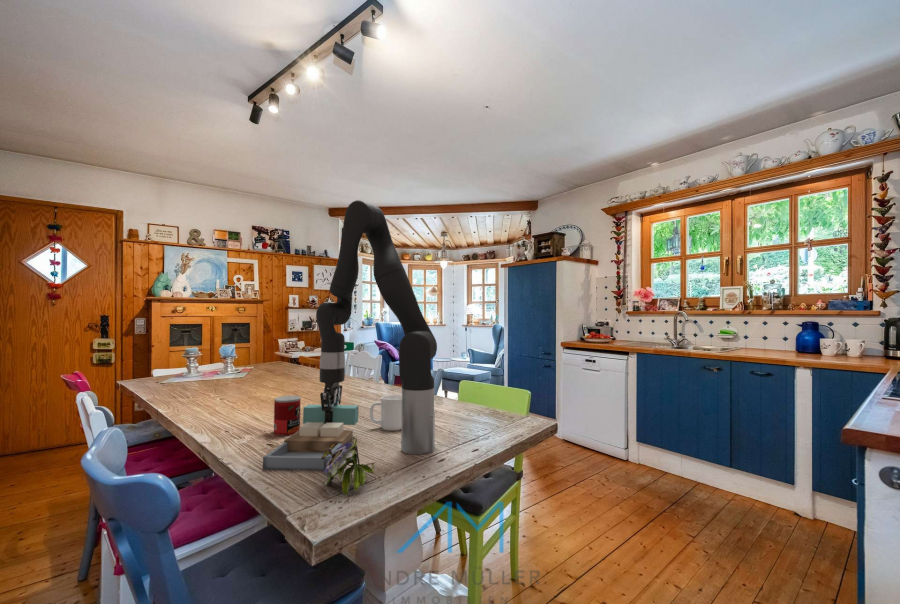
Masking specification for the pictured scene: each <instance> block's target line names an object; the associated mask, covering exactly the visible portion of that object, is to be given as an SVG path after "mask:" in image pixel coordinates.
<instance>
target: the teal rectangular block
mask: <svg viewBox="0 0 900 604" xmlns="http://www.w3.org/2000/svg"><path fill="white" fill-rule="evenodd" d="M359 406H360V405H358V404H356V405H354V404H353V405H352V404H351V405H350V404H349V405H347V404H339V405H333V422H332V423H344V424H343V426H344V425H345V426H356V424H357V423H358V422H359ZM327 407H328V405H327ZM302 409H303V410H302V411H303V412H302V425H304V424H305V423H307V422H321V423H323V425H324V424H325V412H324V411H322V407H321V404H307V405H305V406H304V407H303V408H302Z"/></svg>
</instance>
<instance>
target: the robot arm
mask: <svg viewBox="0 0 900 604" xmlns="http://www.w3.org/2000/svg"><path fill="white" fill-rule="evenodd" d="M342 225H343V226H342V231H341V232H342V233H341V238H340V245H339V253H338V259H337V262H336V266H335V270H334V273H333V276H332V279H331V282H330V286H329V293H330V294H331V295H332V296H334V297H336V302H327V301H326V302H322V303H320V305H319V306H317V307H318V308H317V309H316V314H315V320H316V323H317V327H318V331H319V335H320V338H321V343H320V357H319V358H320V359H319V382H320V383H322V384H324V388H323V391H322V392H320V394H319V395H320V397H319V398H320V405H321V407H322V411H324V412H325V424H326V423H332V422H333V405H341V403H342V393H343V385H340V383H342V382H344V381H346V379H345V378H346V374H345V373H346V356H345V334H343V333H341V332H338V331H337V330H336V328H335V326H342V325H345V324H347V322H348V321H349V320H350V318H351V316H352V308H353V292H354V290H355V287H356V284H357V281H358V277H359V273H360V272H359V270H360V269H359V265H360V264H359V246H360V241H361V239H362V237H363V235H365V236H366V238H367V240H368V242H369V244H370V247H371V249H372V253H373V266H372V267H373V269H372V270H373V277H374V280H375V283H376V285H377V288H378V291H379V293H380V295H381V298H382V299H383V301H384V302H385V304H386V305H387V306H388V308H389V309H390V311H391V312H392V313H393V314H394V316H395V317H396V318H397V320H398V322H399V323H400V326H401V328H402V330H403V334H404V336H403V337H402V338H401V339H400V342H399V347H398V369H399V371H398V372H399V378H400V381H401V395H402V417H401V429H400V430H401V433H400V435H401V437H400V438H401V439H400V440H401V441H400V444H401V447H400V449H401V451H402V452H403V453H405V454H408V455H425V454H429V453H434V450H435V441H436V440H435V439H436V435H435V434H436V432H435V430H436V429H435V428H436V426H435V423H436V419H435V418H436V417H435V416H436V415H435V414H436V413H435V378H434V376H433V374H432V362H431V360H432V359H434V357H435V356H436V353H437V350H438V343H437V340H436V337H435V335H434V334H433V332H432V330H431V328H430V327H429V325H428V323H427V320H426V319H425V317H424V316H423V313H422V311H421V309H420V305H419V303H418V299H417V297H416V295H415V292H414V290H413V288H412V284H411V281H410V280H409V277H408V274H407V272H406V270H405V268H404V265H403V263H402V261H401V259H400V256H399V253H398V251H397V249H396V246H395V244H394V241H393V239H392V236H391V233H390V228H389V226H388V222H387V219H386V217H385V214H384V212H383V210H382V209H381V208H380V207H379V206H378V205H375V204H372V203H370V202H368V201H364V200H359V199H358V200H354V201H352V202H351V203H350V204H348V206H347V208H346V211H345V214H344V219H343V224H342ZM327 405H328V407H327Z"/></svg>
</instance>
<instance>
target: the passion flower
mask: <svg viewBox="0 0 900 604" xmlns="http://www.w3.org/2000/svg"><path fill="white" fill-rule="evenodd" d="M357 441H358V438H353V442H352V443H350V442H347V443H345V444H343V445H342V446H340V447H339V448H338V447H337V451H336V453H334V454H333V453H332V452H331V450H332V448H333V447H334V445H335V444H333V445H331V446H330V447H329V448H328V449H326V451H325V453H324V454H323V455H322V458H321V459H324V458H325V457H326V456H327V455H328V454H331V455H332V456H331V459H330V460H329V461H328V463H327V464H326V465H325V467H326V469H325V470H324V471H323V476H324V477H325V478H326V481H325V482H324V486H325V487H327V486H330V485H332V483H333V482H332V481H333V480H334V479H335V477H336V476H338V479H339V481H341V485H342V489H341V490H342V494H343V495H345V496H346V497H349V491H350V489H351V486H352V483H353V492H354V493H355V492H357V491H358V490H359V488H360V487H362V486H364V484H365V482H366V480H367V479H366V478H367V474H366V473H368V474H374V473H375V464H376V462H370V463H367V464H364V463H360V457H359V450H358V445H357ZM369 465H371V466H369ZM347 466H348V468H347ZM352 475H353V477H352ZM352 478H353V481H352Z"/></svg>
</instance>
